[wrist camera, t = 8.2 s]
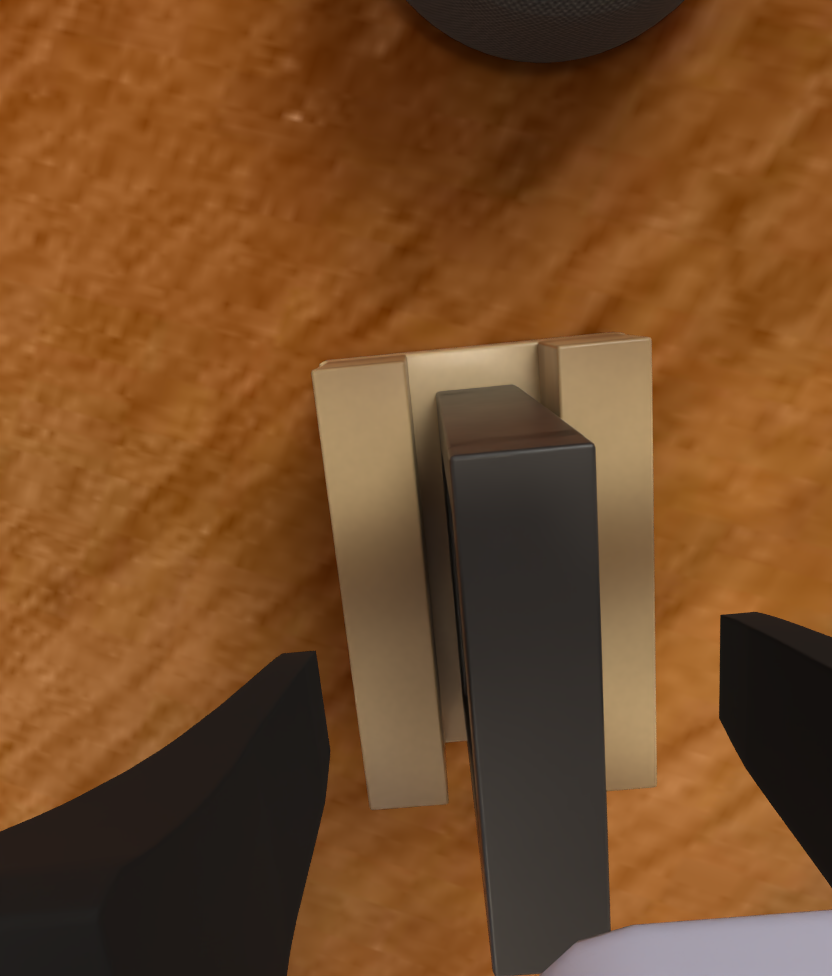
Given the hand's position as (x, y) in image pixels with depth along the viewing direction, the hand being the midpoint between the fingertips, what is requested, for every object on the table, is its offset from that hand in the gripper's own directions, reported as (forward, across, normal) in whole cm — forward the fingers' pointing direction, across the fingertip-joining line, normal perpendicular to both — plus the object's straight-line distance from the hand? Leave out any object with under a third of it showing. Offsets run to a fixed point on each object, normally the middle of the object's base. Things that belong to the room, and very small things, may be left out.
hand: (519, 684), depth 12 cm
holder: (+7, 0, 0) cm, 7 cm away
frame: (+6, 0, 0) cm, 6 cm away
